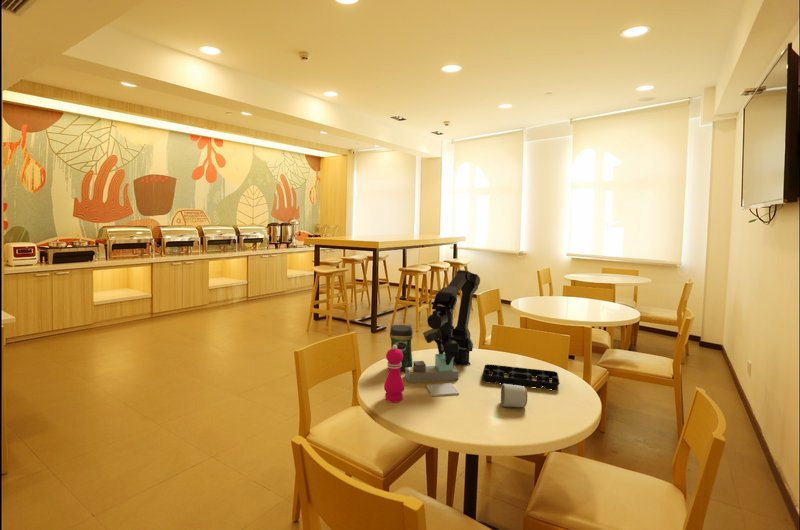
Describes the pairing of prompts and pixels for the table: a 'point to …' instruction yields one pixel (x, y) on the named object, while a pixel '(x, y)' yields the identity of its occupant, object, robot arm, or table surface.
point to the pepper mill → (394, 376)
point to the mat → (442, 389)
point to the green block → (442, 363)
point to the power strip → (428, 373)
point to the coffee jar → (402, 343)
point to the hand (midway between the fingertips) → (444, 360)
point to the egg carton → (521, 376)
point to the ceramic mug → (513, 395)
